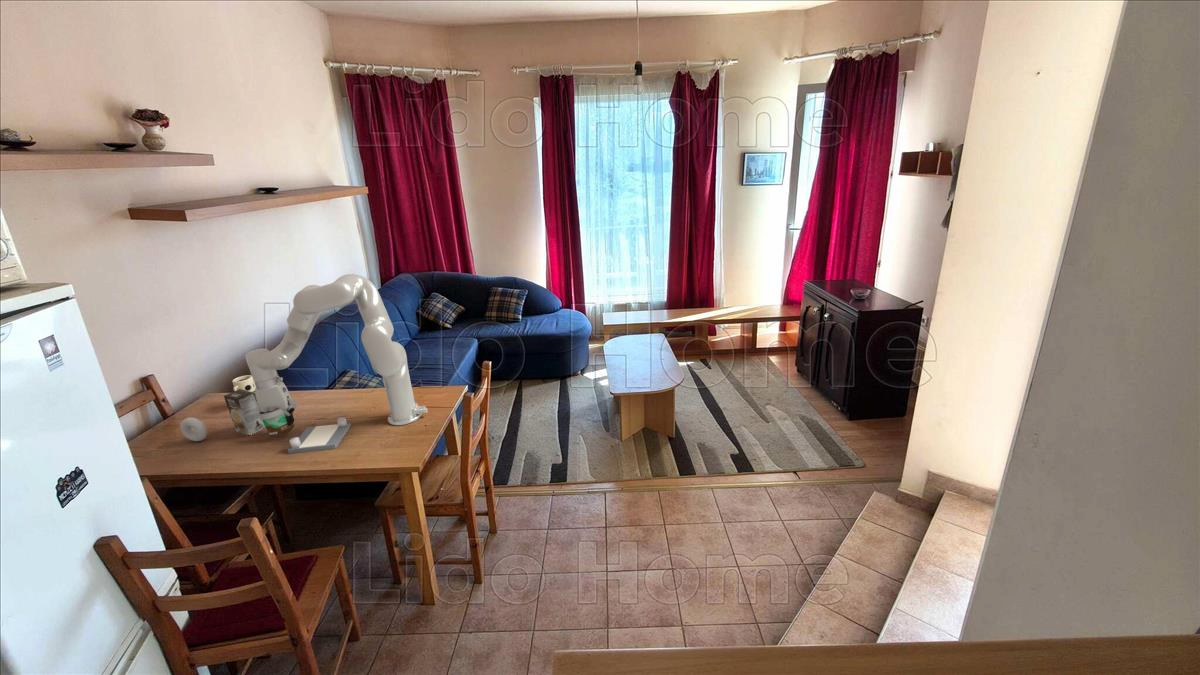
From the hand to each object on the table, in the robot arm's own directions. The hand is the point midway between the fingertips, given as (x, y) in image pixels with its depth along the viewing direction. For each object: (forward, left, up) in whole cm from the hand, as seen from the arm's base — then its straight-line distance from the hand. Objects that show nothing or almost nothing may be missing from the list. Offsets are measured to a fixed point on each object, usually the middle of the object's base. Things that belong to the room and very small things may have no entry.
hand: (282, 424), depth 187 cm
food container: (-1, 0, -3) cm, 3 cm away
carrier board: (-15, +6, -5) cm, 17 cm away
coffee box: (+17, -8, -5) cm, 19 cm away
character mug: (+29, -32, -5) cm, 43 cm away
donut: (+34, -4, -5) cm, 34 cm away
